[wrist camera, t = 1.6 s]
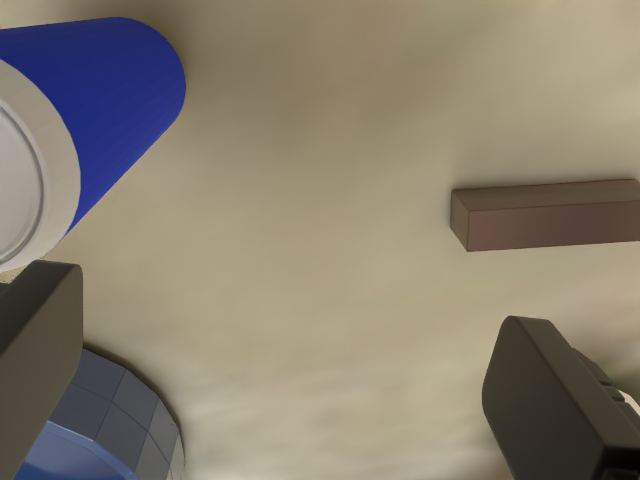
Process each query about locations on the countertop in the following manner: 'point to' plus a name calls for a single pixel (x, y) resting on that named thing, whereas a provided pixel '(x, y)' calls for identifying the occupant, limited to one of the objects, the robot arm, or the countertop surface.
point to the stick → (546, 215)
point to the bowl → (106, 430)
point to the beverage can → (75, 121)
